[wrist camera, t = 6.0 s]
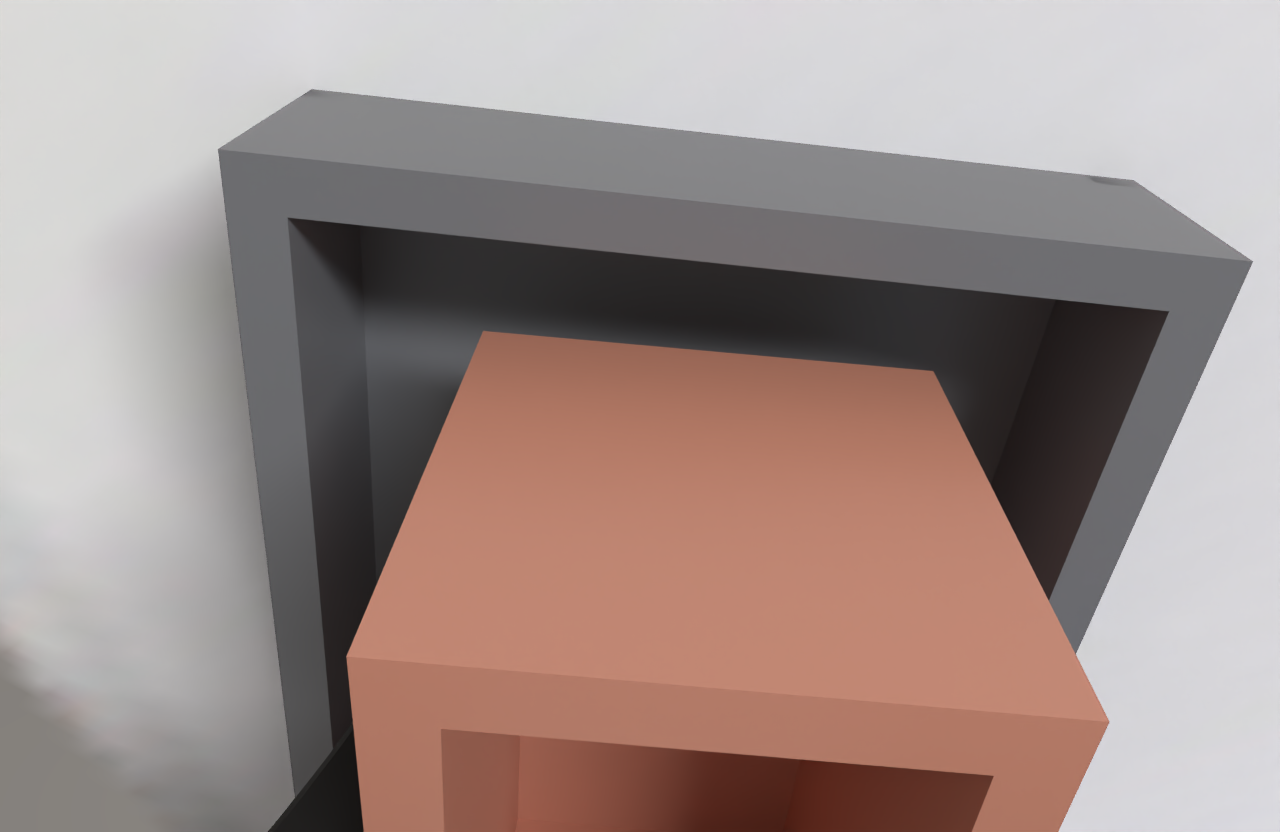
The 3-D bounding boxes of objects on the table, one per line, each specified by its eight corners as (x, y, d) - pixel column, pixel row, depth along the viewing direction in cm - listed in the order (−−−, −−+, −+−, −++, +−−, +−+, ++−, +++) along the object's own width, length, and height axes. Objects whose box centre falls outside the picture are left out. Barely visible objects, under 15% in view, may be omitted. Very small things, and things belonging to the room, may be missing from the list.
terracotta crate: (810, 835, 15) (866, 1243, 10) (483, 806, 15) (400, 1206, 10) (933, 370, 11) (1108, 721, 6) (483, 330, 11) (345, 656, 6)
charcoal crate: (896, 805, 18) (935, 965, 15) (361, 757, 18) (309, 912, 15) (1125, 174, 12) (1252, 261, 9) (317, 85, 12) (218, 149, 9)
